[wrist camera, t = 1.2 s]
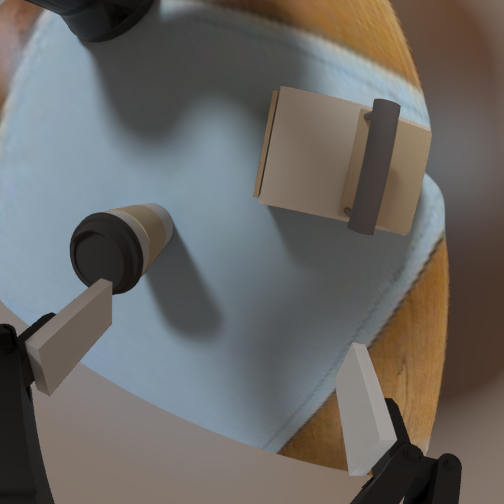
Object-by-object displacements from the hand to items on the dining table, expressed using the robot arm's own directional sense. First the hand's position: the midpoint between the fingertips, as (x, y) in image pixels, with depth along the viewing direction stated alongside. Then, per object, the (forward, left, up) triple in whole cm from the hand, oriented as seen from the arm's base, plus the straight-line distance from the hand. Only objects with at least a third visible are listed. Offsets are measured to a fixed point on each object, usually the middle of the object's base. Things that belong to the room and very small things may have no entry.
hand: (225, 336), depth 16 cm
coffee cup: (+3, -15, -27) cm, 31 cm away
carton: (-10, +8, -26) cm, 29 cm away
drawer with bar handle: (-10, +12, -17) cm, 23 cm away
